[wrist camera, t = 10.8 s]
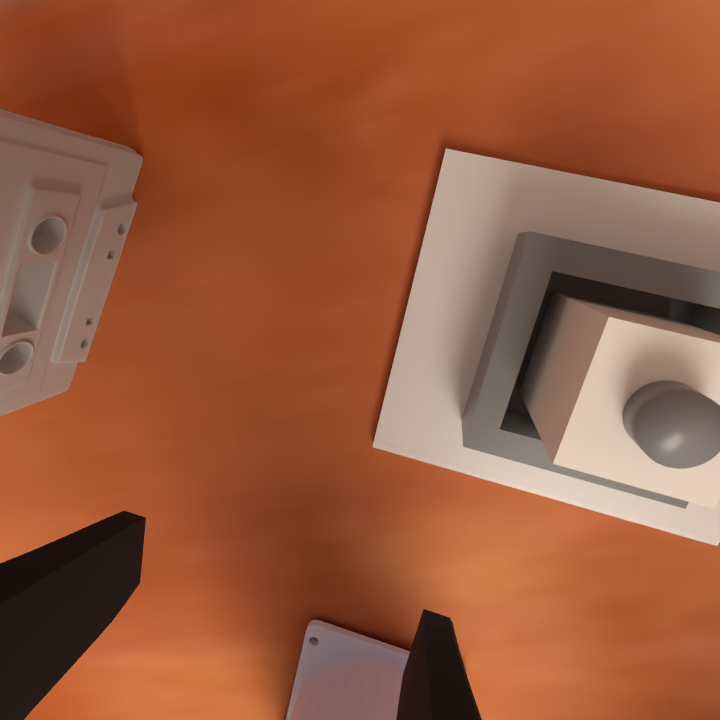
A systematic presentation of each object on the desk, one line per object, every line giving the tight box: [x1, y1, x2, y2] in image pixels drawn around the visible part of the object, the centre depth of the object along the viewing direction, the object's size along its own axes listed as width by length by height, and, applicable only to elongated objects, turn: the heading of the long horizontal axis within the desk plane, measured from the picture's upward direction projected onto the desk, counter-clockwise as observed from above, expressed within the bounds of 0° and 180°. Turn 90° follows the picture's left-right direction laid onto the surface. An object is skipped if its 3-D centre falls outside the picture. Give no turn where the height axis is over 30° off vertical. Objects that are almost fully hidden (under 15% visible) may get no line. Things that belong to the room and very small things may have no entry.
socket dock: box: [372, 149, 720, 546], centre depth 16 cm, size 12×14×3 cm
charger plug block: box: [520, 291, 720, 509], centre depth 13 cm, size 4×4×7 cm
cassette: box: [0, 109, 143, 416], centre depth 17 cm, size 12×2×8 cm, turn 152°
